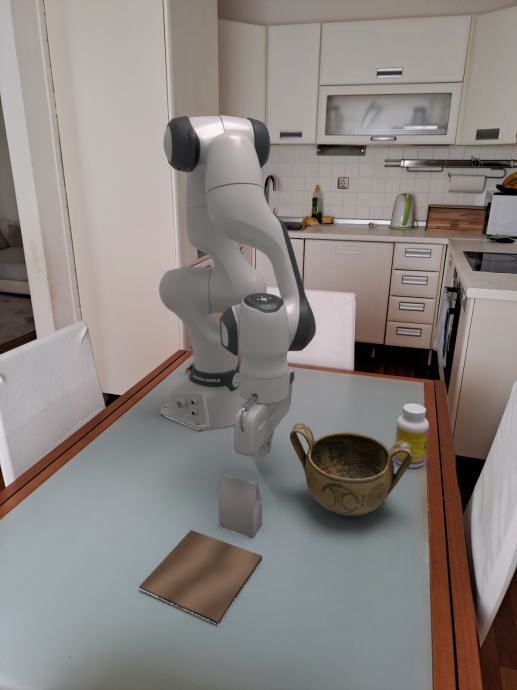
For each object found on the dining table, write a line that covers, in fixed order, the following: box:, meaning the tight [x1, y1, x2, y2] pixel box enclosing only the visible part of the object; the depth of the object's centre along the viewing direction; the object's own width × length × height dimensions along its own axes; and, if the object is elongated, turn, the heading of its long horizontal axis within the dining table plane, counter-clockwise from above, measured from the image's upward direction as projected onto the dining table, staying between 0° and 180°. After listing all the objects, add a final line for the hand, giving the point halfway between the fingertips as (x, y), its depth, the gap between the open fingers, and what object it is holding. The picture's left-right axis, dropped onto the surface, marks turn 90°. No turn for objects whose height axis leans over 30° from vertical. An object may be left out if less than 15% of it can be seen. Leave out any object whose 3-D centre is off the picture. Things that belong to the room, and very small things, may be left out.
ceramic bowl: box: [289, 422, 413, 517], centre depth 93 cm, size 22×17×15 cm
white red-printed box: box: [217, 474, 263, 539], centre depth 87 cm, size 4×7×10 cm, turn 65°
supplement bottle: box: [393, 402, 430, 469], centre depth 106 cm, size 7×7×13 cm
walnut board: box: [139, 529, 263, 624], centre depth 78 cm, size 14×14×1 cm
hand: (264, 452), depth 93 cm, fingers closed
